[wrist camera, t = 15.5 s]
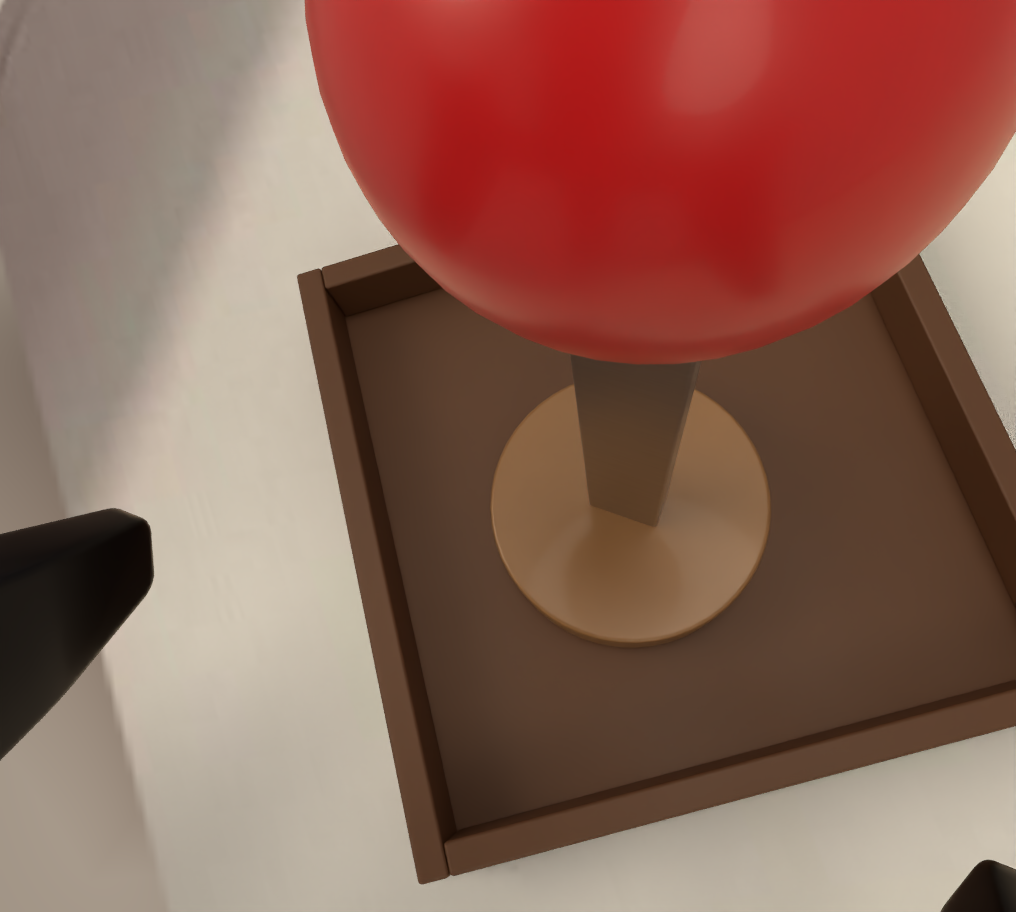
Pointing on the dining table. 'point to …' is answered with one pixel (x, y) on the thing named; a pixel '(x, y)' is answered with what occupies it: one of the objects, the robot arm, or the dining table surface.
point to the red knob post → (657, 236)
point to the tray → (720, 643)
